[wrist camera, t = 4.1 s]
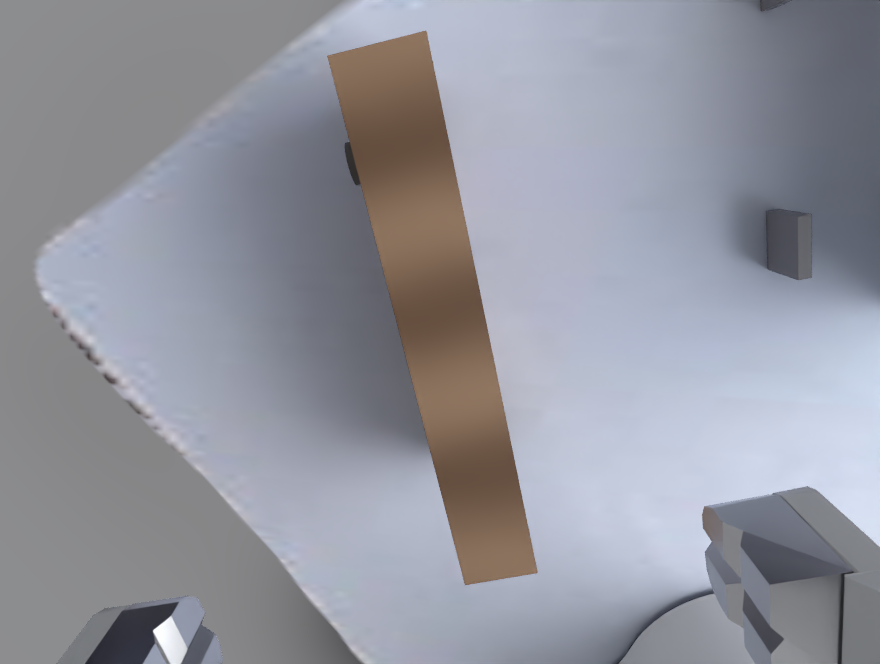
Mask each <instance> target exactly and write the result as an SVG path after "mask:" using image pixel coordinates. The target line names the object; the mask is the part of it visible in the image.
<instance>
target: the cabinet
mask: <svg viewBox="0 0 880 664" xmlns="http://www.w3.org/2000/svg"><path fill="white" fill-rule="evenodd" d="M790 1H792V0H761V11H765V10H769V9H773V8H776V7H779V6H781V5H783V4H785V3H787V2H790ZM766 214H767V252H768V270H771V271H774V272H776V273H779V274H782V275H785V276H788V277H791V278H794V279H796V280H802V279H807V278H812V214H807V213H801V212H794V211H788V210H782V209H777V210H772V211H767V212H766Z"/></svg>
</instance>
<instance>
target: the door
mask: <svg viewBox="0 0 880 664" xmlns="http://www.w3.org/2000/svg"><path fill="white" fill-rule="evenodd" d="M328 60H329V64H330V68H331V72H332V76H333V79H334V83H335V87H336V91H337V95H338V99H339V103H340V106H341V110H342V114H343V118H344V122H345V126H346V129H347V133H348V137H349V141H350V142H347V143H345V153H346V158H347V163H348V166H349V170H350V173H351V176H352V178H353V181H354V182H355V184H356V185H360V184H361V187H362V191H363V195H364V199H365V202H366V206H367V210H368V214H369V218H370V222H371V225H372V229H373V233H374V237H375V241H376V245H377V248H378V252H379V256H380V260H381V264H382V268H383V272H384V275H385V279H386V283H387V287H388V291H389V295H390V298H391V302H392V306H393V310H394V314H395V318H396V321H397V325H398V329H399V333H400V337H401V341H402V345H403V348H404V352H405V356H406V360H407V364H408V368H409V371H410V375H411V379H412V383H413V387H414V391H415V394H416V398H417V402H418V406H419V410H420V414H421V418H422V421H423V425H424V429H425V433H426V437H427V441H428V444H429V448H430V452H431V456H432V460H433V464H434V467H435V471H436V475H437V479H438V483H439V487H440V491H441V494H442V498H443V502H444V506H445V510H446V514H447V517H448V521H449V525H450V529H451V533H452V537H453V540H454V544H455V548H456V552H457V556H458V560H459V564H460V567H461V571H462V575H463V579H464V583H465V585H469V584H475V583H481V582H487V581H493V580H498V579H504V578H510V577H516V576H522V575H528V574H534V573H537V568H536V563H535V558H534V553H533V548H532V543H531V539H530V534H529V529H528V524H527V519H526V514H525V509H524V504H523V500H522V495H521V490H520V485H519V480H518V475H517V470H516V466H515V461H514V456H513V451H512V446H511V441H510V436H509V431H508V427H507V422H506V417H505V412H504V407H503V402H502V397H501V393H500V388H499V383H498V378H497V373H496V368H495V363H494V358H493V354H492V349H491V344H490V339H489V334H488V329H487V324H486V319H485V315H484V310H483V305H482V300H481V295H480V290H479V285H478V281H477V276H476V271H475V266H474V261H473V256H472V251H471V246H470V242H469V237H468V232H467V227H466V222H465V217H464V212H463V207H462V203H461V198H460V193H459V188H458V183H457V178H456V173H455V169H454V164H453V159H452V154H451V149H450V144H449V139H448V134H447V130H446V125H445V120H444V115H443V110H442V105H441V100H440V96H439V91H438V86H437V81H436V76H435V71H434V66H433V61H432V57H431V52H430V47H429V42H428V37H427V32H426V31H423V32H419V33H415V34H411V35H407V36H403V37H399V38H395V39H392V40H388V41H384V42H380V43H376V44H372V45H368V46H364V47H360V48H356V49H352V50H348V51H345V52H341V53H337V54H333V55H329V56H328Z"/></svg>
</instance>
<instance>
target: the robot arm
mask: <svg viewBox="0 0 880 664" xmlns="http://www.w3.org/2000/svg"><path fill="white" fill-rule="evenodd" d="M702 518H703V529H704V530H705V532H706V533H707V535H708V536H709V538H710V539H711V541H712V542H711V544H710V545H709V547H708V548H707V550H706V551H705V558H706V567H707V572H708V576H709V579H710V583H711V586H712V589H713V591H714V594H710V595H706V596H703V597H699V598H696V599H694V600H691V601H689V602H686V603H684V604H682V605H680V606H678V607H676V608H674V609H672V610H670V611H669V612H667V613H665V614H664V615H662V616H661V617H660V618H658V619H657V620H656V621H654V622H653V623H652V624H651V625H650V626H648V627H647V628H646V629H645V630H644V631H643V632H642V634H641V635H640V636H639V637H638V638H637V639H636V641H635V642H634V644H633V645H632V647H631V648H630V650H629V651H628V653H627V654H626V655H625V657H624V658H623V659H622V660H621V661H620V662H619V664H880V547H879V546H878V545H877V544H876V543H875V542H874V541H873V540H871V539H870V538H869V537H868V536H867V535H866V534H865V533H864V532H863V531H862V530H860V529H859V528H858V527H857V526H856V525H855V524H854V523H853V522H852V521H850V520H849V519H848V518H847V517H846V516H845V515H844V514H843V513H842V512H840V511H839V510H838V509H837V508H836V507H835V506H834V505H833V504H832V503H830V502H829V501H828V500H827V499H826V498H825V497H824V496H823V495H822V494H820V493H819V492H818V491H817V490H815V489H813V488H810V487H808V486H807V487H802V488H797V489H792V490H787V491H782V492H777V493H773V494H772V495H764V496H759V497H753V498H747V499H742V500H736V501H731V502H725V503H720V504H714V505H709V506H704V510H703V514H702ZM204 616H205V611H204V609H203V607H202V606H201V604H200V602H199V600H198V598H196V597H192V596H183V597H177V598H169V599H163V600H156V601H149V602H142V603H135V604H132V605H126V606H119V607H112V608H105V609H103V610H102V611H100V612H98V613H96V614H95V615H93V616H92V618H91V619H90V620H89V621H88V623H87V624H86V625H85V627H84V628H83V630H82V631H81V632H80V633H79V635H78V636H77V637H76V639H75V640H74V641H73V642H72V644H71V645H70V646H69V648H68V649H67V651H66V652H65V653H64V654H63V656H62V657H61V658H60V660H59V661H58V662H57V664H222V663H223V658H222V652H221V647H220V643H219V641H218V639H217V637H216V634H215V633H214V632H212V631H210V630H209V629H207V628H206V627H204V626H203V625H201V624H202V621H203V619H204Z"/></svg>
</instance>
